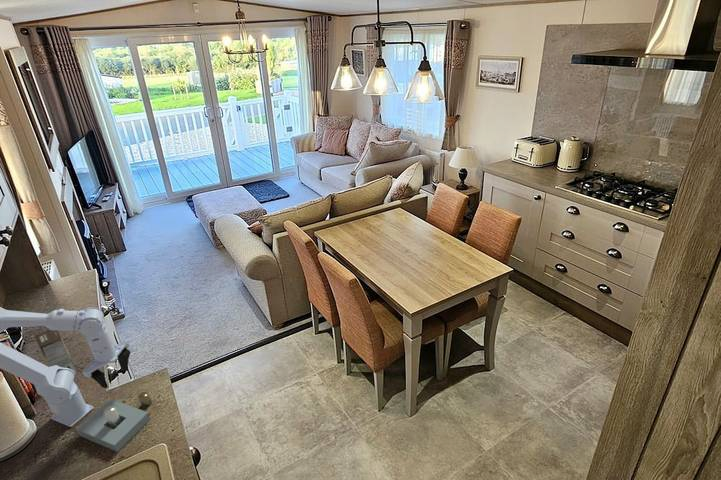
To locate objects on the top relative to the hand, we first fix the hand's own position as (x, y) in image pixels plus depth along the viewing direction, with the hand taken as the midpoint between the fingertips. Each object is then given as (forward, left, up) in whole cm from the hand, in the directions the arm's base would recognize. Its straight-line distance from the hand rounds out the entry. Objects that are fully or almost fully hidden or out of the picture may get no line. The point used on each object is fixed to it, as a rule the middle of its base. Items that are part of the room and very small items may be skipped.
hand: (115, 378), depth 131 cm
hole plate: (+7, -9, -9) cm, 15 cm away
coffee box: (-32, +2, -10) cm, 33 cm away
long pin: (+8, -9, -9) cm, 15 cm away
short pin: (+9, +1, -9) cm, 13 cm away
